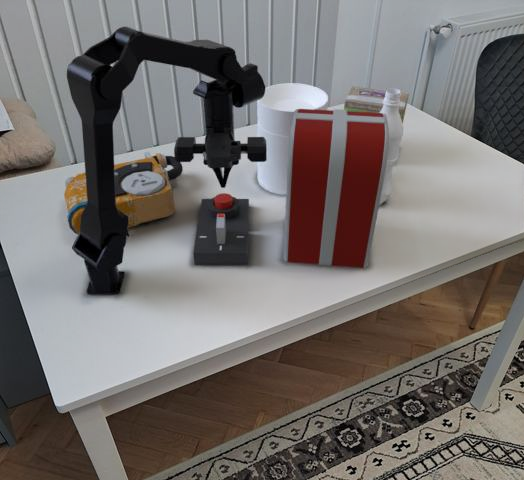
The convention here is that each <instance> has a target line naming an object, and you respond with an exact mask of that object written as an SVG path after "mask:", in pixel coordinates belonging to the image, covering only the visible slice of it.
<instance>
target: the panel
mask: <svg viewBox="0 0 524 480" xmlns="http://www.w3.org/2000/svg"><path fill="white" fill-rule="evenodd" d="M216 224H217V223H198V222H197V224H196V230H195V231H196V232H195V239H194V246H193V252H192V255H193V262H194V263H193V264H194V265H195V266H248V265H249V231H248V223H225V224H226V236H225V244H217V233H216Z"/></svg>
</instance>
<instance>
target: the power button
mask: <svg viewBox="0 0 524 480" xmlns="http://www.w3.org/2000/svg"><path fill="white" fill-rule="evenodd" d="M214 197H215V207H216V208H219V209H228V208H231V207H232V206H233V197H234V196H232V194H229V193H225V192H224V193H223V192H222V193H217V195H215V196H214Z"/></svg>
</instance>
